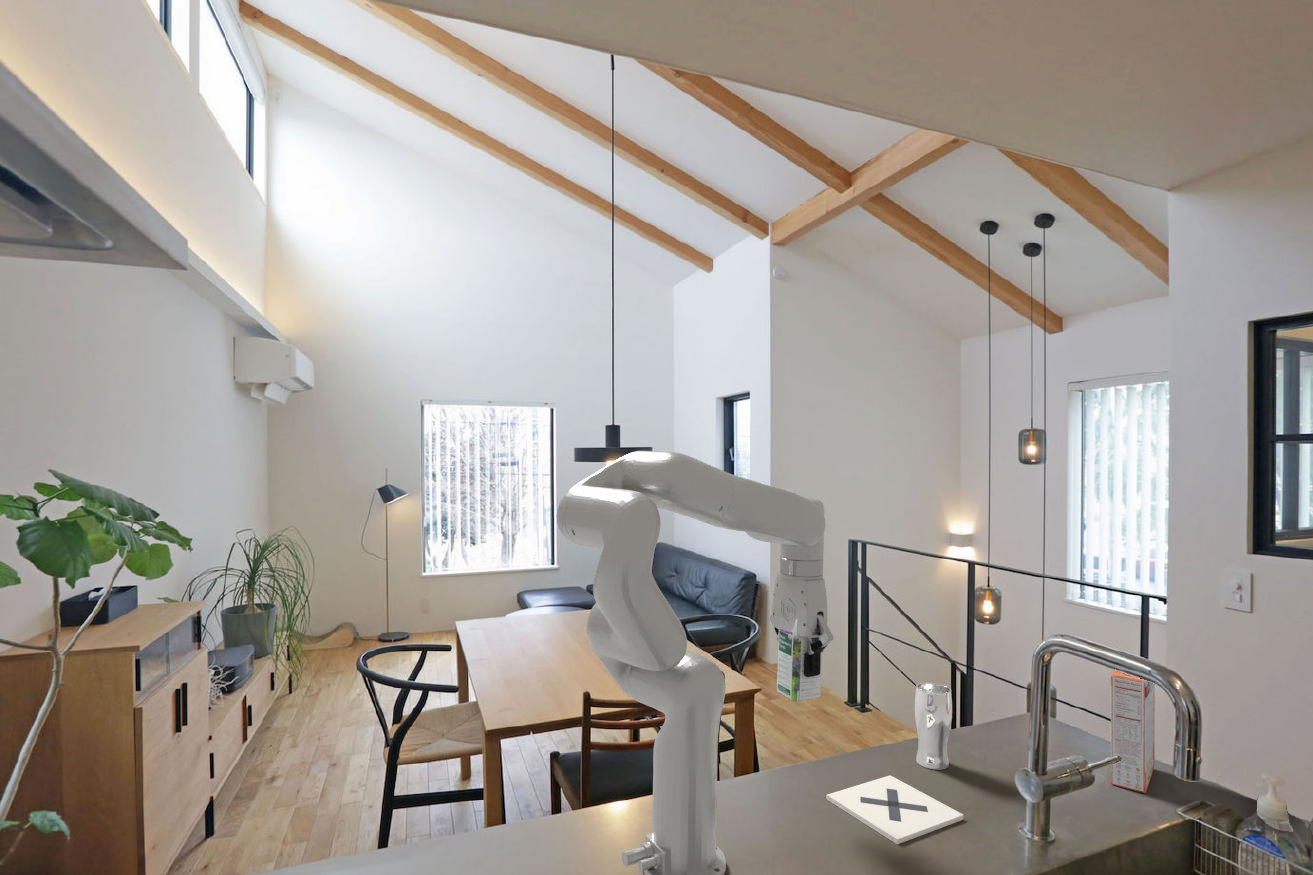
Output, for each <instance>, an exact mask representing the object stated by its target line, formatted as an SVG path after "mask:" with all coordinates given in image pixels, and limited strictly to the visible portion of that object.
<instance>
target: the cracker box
mask: <svg viewBox="0 0 1313 875" xmlns="http://www.w3.org/2000/svg"><path fill="white" fill-rule="evenodd" d="M1155 687H1156V683H1155V684H1153V683H1151V682H1149V681H1147V680H1144V679H1140V678H1138V677H1136V676H1130V675H1127V674H1125V673H1122V672H1120V671H1117V670H1116V669H1115V670H1113V672H1112V674H1111V676H1110V758H1111V757H1113V756H1120V757H1121V758H1122V759H1121V761H1119V762H1117V763H1115V764H1113V765H1111V764H1110V784H1111V785H1113V786H1115V787H1120V788H1123V789H1127V790H1131V791H1134V792H1138V793H1143V794H1146V793H1147V791H1148V789H1149V786H1150V783H1151V782H1150V781H1151V779H1152V776H1153V773H1154V770H1155V766H1156V765H1155V758H1156V755H1155V752H1156V751H1155V750H1156V748H1155V741H1156V740H1155V739H1156V737H1155V735H1156V734H1155V731H1156V730H1155V729H1156V727H1155V726H1156V725H1155V724H1156V723H1155V722H1156V720H1155V717H1156V716H1155V714H1156V713H1155V712H1156V711H1155V710H1156V707H1155V706H1156V705H1155V704H1156V703H1155V702H1156V701H1155V699H1156V697H1155V696H1156V695H1155V694H1156V688H1155Z"/></svg>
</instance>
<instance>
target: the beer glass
mask: <svg viewBox="0 0 1313 875" xmlns="http://www.w3.org/2000/svg"><path fill="white" fill-rule="evenodd" d="M915 688H916V689H915V697H914V717H915V720H914V721H915V725H916V731H917V739H918V743H917V744H918V745H917V752H916V757H915V761H916V763H917V764H918V765H920V766H921V767H923V768H926V769H930V770H935V771H942V770H946V769H948V768H949V767H950V763H949V758H948V740H949V736H950V731H951V726H952V719H953V700H952V699H953V698H952V688H950V687H949V686H947V685H945V684H942V683H938V682H930V681H929V682H927V681H926V682H925V681H924V682H918V683H916V685H915Z"/></svg>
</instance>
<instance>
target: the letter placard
mask: <svg viewBox="0 0 1313 875" xmlns="http://www.w3.org/2000/svg"><path fill="white" fill-rule="evenodd" d="M826 800H827V801H828V802H830V803H832V804H833V805H834V806H836V807H838V808H839V809H841V810H842V811H845V812H846V813H847V814H849V815H851V816H852V817H853V818H856V820H857V821H859V822H861V823H863V824H865V825H866V826H867V827H870V828H871V829H872V830H873V831H875V832H876V833H879V834H880V835H882V836H884V838H886V839H887V840H890V841H891V842H892V843H894V844H896V845H900V844H903V843H905V842H907V841H911V840H913V839H916V838H919V837H920V836H924V835H927V834H929V833H932V832H934V831H937V830H940V829H942V828H944V827H947V826H950V825H953V824H955V823H958V822H961V821H964V814H963V813H962V812H960V811H957V810H956V809H953V808H952V807H950V806H948V805H946V804H945V803H942V802H941V801H939V800H937V799H935V798H933V797H932V796H930V795H928V794H925V793H924V792H923V791H920V790H918V788H915V787H913V786H911V785H910V784H907V783H905V782H903V781H902V780H900V779H898V778H896V777H894V776H892V775H890V774H889V775H887V776H884V777H883V776H882V777H880V778H877V779H873V780H870V781H866V782H864V783H861V784H857V785H853V786H850V787H848V788H843V789H842V790H838V791H834V792H831V793H828V794H826Z"/></svg>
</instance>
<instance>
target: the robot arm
mask: <svg viewBox="0 0 1313 875" xmlns="http://www.w3.org/2000/svg"><path fill="white" fill-rule="evenodd" d="M659 509H662V510H666V511H669V512H673V513H676V514H679V515H681V516H684V517H687V518H688V517H689V518H691V519H694V520H697V521H700V522H702V523H705V524H708V525H711V526H713V527H717V528H722V529H726V530H732V531H736V532H737V531H738V532H745V534H747V536H749V538H752V539H754V540H756V541H759V542H765V543H771V544H779V545H780V549H779V552H780V554H779V556H780V557H779V572H777V574H776V579H775V583H774V587H773V589H774V590H773V594H772V595H773V597H772V607H771V608H772V609H771V615H770V617H769V619H770V622H771V624H772V626H773V629H774V632H775V633H776V636H777V638H776V640H777V642H778V643H779V629H780V630H784V631H787V632H791V631H792V629H793V628H794V624H795V621H796V620H797V619H798V636H799V637H802V638H804V640H805V644H806V649H807V653H805V655H804V676H806V677H812V676H817V675H820V660H821V653H822V654H823V653H824V650H825V649H826V648H827V647H828V646H829V644H830V643H831V642H833V640H834V635H833V633H832V632H831V630H830V627H829V625H828V600H827V599H828V598H827V588H826V582H825V578H824V549H825V548H824V545H825V531H826V518H825V505H824V503H823V502H822V501H821V500H820V499H818V498H811V497H803V496H801V495H799V494H796V493H794V492H791V491H788V490H785V489H781V488H779V487H775V486H771V485H767V484H765V483H762V482H757V481H755V480H752V479H749V478H744V477H741V476H738V475H735V474H732V473H730V472H727V471H724V470H722V469H719V468H718V467H715V466H712V465H711V464H708V463H706V462H703V461H702V460H699V459H697V458H694V457H692V456H690V455H687V454H685V453H681V452H675V451H657V450H655V451H654V450H636V451H632V452H630V453H628V454H624V455H623V456H621V457H619V458H618V459H616V460H614V461H612V462H610V463H609V464H607V465H605V467H602V468H601V469H599V470H598V471H596V472H595V473H593V474H590V476H588V477H586V478H585V479H583V480H581V481H580V482H578V483H577V484H575V485H573V486H572V487H571V488H570V489H569V490H568V491H567V492H566V493H564V495H563V497H562V498H561V500H560V502H559V503H558V505H557V510H556V523H557V526H558V529H559V531H560V533H561V534H562V535H563V536H564V537H565V538H566V539H567V540H569V541H570V542H572V543H574V544H577V545H579V546H584V547H591V548H596V549H600V550H601V554H600V557H599V560H598V564H597V568H596V571H595V576H594V579H593V580H594V581H593V585H592V587H593V588H592V594H593V598H594V600H595V603H594V604H593V606H592V607H591V609H590V612H589V615H588V618H587V622H586V634H587V639H588V642H589V645H590V647H591V650H592V651H593V653H594V655H595V656H596V657H597V659H598V660H599V661H600V662H601V664H602V665H603V667H604V669H606V672H608V673H609V675H610V676H611V677H612V679H613V680H614V682H615V683H616V684H617V685H618V687H619V688H620V689H621V690H622V691H623V692H624V694H625V695H627V696H628V697H629V698H631V699H632V700H634V701H636V702H639V703H640V704H643V705H645V706H647V707H650V708H653V709H655V710H657V711H659V712H660V713H662V714H664V717H665V719H664V723H663V724H662V726H661V728H660V729H659V731H658V732H657V734H656V737H655V740H654V743H653V751H652V752H653V754H652V755H653V756H652V758H653V760H652V762H653V763H652V764H653V768H652V769H653V770H652V771H653V773H652V775H653V777H652V778H653V779H652V820H651V821H652V822H651V824H652V827H651V828H652V829H651V833H647V834H645V842H644V843H642V844H640V847H637V848H631V849H629V850H626V851H622V852H621V861H622V863H623V866H624V867H626V868H627V867H630V866H633V865H636V864H637V867H638V870H639V871H640V872H643V874H644V875H725V873H726V870H727V858H726V856H725V854H724V852H723V850H721V848H720V847H718V845H717V805H718V804H717V802H718V801H717V800H718V798H717V796H718V794H717V792H718V744H719V728H720V721H721V716H722V712H723V706H724V701H725V697H726V687H727V686H726V685H727V684H726V678H725V676H724V673H723V672H722V669H721V668H720V667H719V666H718V664H716V662H715V661H713V660H712V659H709V658H708V657H706V656H704V655H701V654H699V653H696V652H694V651H690V650H687V649H688V638H687V634H686V630H685V628H684V626H683V624H682V622H681V620H680V619H679V617H678V615H677V613H676V612H675V611H674V609H673V607H672V606H671V605H670V603H669V601H668V600H667V598H666V597H665V595H664V594H663V592H662V590H660V588H659V585H658V584H657V581H656V579H655V578H654V575H653V571H652V568H653V567H652V566H653V559H654V556H655V555H654V554H655V549H656V548H657V543H658V540H659V537H660V533H661V516H660V511H659ZM815 630H816V634H813V633H814V631H815ZM812 638H815V643H814V644H812V640H811V639H812Z"/></svg>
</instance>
